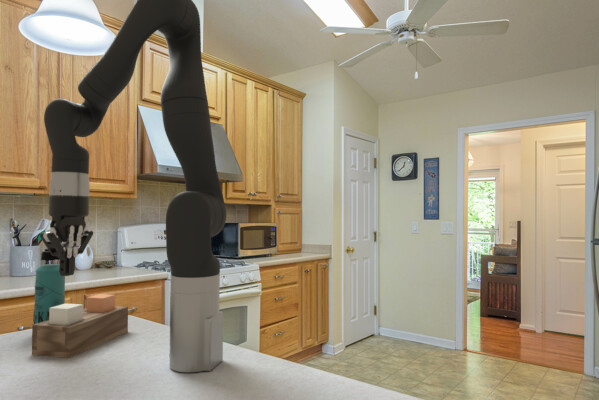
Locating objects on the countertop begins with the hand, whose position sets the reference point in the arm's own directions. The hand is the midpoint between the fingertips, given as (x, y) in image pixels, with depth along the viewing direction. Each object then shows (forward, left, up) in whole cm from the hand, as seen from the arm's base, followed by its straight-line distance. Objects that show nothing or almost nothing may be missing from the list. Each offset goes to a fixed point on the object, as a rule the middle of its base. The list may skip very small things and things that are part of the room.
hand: (67, 275), depth 87 cm
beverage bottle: (+12, -9, -16) cm, 22 cm away
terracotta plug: (0, -11, -12) cm, 16 cm away
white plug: (0, 0, -11) cm, 11 cm away
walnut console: (0, -5, -16) cm, 17 cm away
